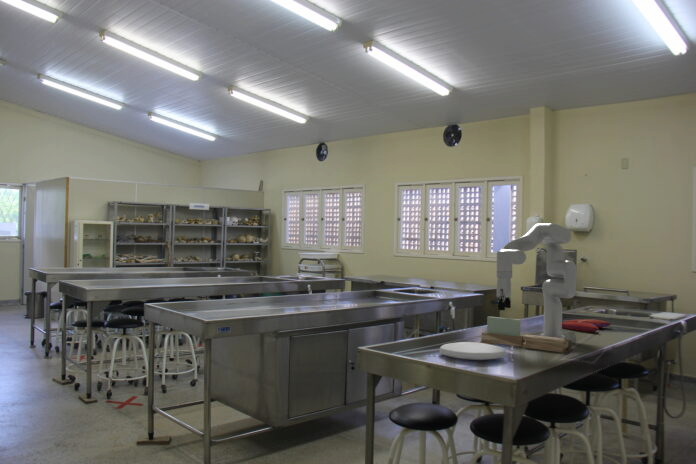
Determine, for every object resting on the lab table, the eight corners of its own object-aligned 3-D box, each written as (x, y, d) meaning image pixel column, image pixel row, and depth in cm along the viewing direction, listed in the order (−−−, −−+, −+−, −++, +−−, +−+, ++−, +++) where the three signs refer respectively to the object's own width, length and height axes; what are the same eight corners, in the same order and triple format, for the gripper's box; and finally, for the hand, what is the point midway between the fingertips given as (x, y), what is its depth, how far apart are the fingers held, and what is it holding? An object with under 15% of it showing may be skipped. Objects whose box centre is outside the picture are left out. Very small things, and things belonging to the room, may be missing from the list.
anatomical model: (611, 332, 328) (561, 328, 347) (611, 320, 328) (561, 317, 347) (598, 333, 304) (545, 329, 323) (598, 320, 305) (545, 317, 324)
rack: (529, 345, 265) (529, 332, 265) (571, 350, 254) (571, 336, 254) (521, 349, 253) (521, 335, 254) (565, 355, 242) (566, 340, 243)
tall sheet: (488, 339, 271) (488, 316, 271) (519, 343, 262) (520, 319, 262) (486, 340, 269) (487, 316, 269) (518, 344, 260) (519, 320, 260)
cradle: (486, 340, 275) (486, 330, 275) (525, 345, 264) (526, 335, 264) (480, 343, 267) (480, 333, 267) (520, 348, 256) (520, 337, 256)
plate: (428, 345, 233) (459, 339, 253) (429, 360, 233) (459, 352, 253) (486, 348, 215) (514, 341, 235) (487, 365, 214) (515, 356, 234)
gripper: (502, 273, 275) (502, 306, 275) (491, 275, 261) (491, 310, 261) (516, 274, 271) (516, 307, 271) (506, 276, 257) (506, 311, 257)
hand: (504, 308), depth 266 cm, fingers open, 9 cm apart
